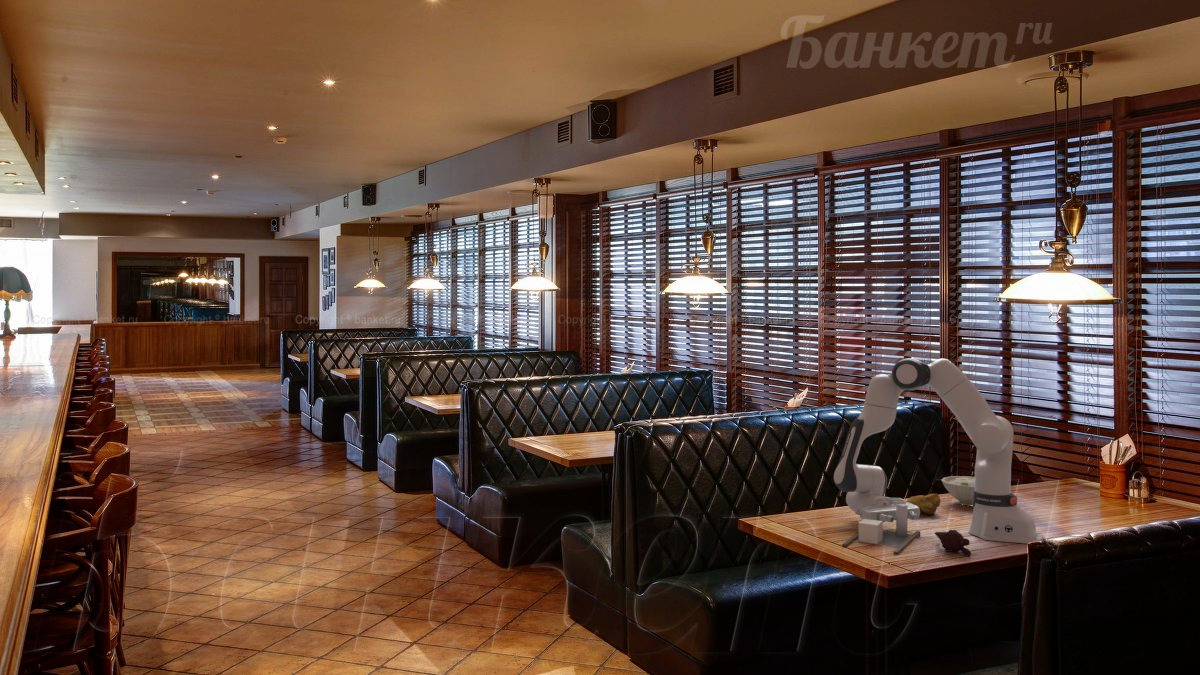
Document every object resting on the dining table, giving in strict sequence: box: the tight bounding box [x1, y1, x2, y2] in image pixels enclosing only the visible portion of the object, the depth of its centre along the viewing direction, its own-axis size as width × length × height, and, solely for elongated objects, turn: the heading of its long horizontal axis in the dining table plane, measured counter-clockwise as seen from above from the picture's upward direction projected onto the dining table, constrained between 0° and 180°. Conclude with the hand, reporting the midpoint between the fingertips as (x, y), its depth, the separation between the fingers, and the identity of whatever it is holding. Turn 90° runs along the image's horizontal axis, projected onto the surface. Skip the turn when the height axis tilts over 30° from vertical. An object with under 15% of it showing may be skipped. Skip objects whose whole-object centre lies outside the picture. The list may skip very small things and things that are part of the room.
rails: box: [841, 530, 921, 556], centre depth 292 cm, size 17×28×2 cm, turn 147°
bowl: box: [941, 475, 975, 505], centre depth 343 cm, size 19×19×10 cm
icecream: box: [934, 529, 972, 557], centre depth 283 cm, size 7×7×15 cm
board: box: [854, 504, 912, 549], centre depth 293 cm, size 14×18×11 cm
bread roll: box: [905, 493, 941, 516], centre depth 329 cm, size 13×10×8 cm
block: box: [858, 519, 884, 545], centre depth 291 cm, size 6×6×6 cm
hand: (903, 518), depth 295 cm, fingers open, 8 cm apart
